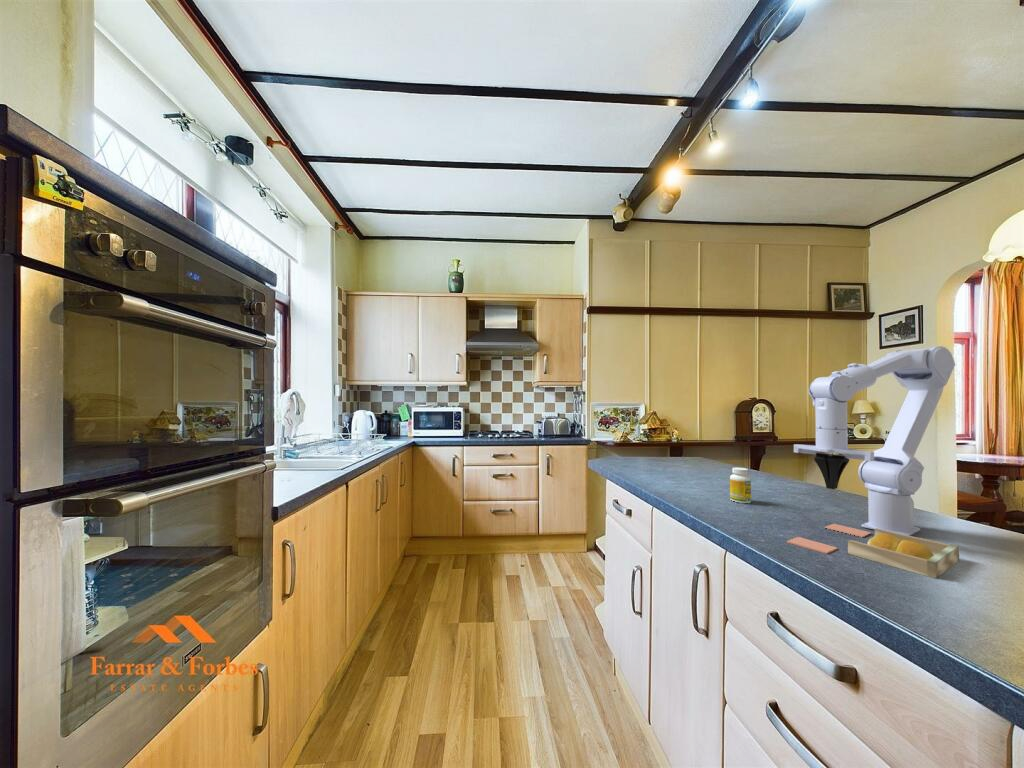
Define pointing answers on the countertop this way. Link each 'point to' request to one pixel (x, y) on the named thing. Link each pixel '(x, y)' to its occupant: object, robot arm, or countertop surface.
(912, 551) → the bread roll
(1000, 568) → the countertop surface
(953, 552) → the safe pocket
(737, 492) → the supplement bottle
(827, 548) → the mats
